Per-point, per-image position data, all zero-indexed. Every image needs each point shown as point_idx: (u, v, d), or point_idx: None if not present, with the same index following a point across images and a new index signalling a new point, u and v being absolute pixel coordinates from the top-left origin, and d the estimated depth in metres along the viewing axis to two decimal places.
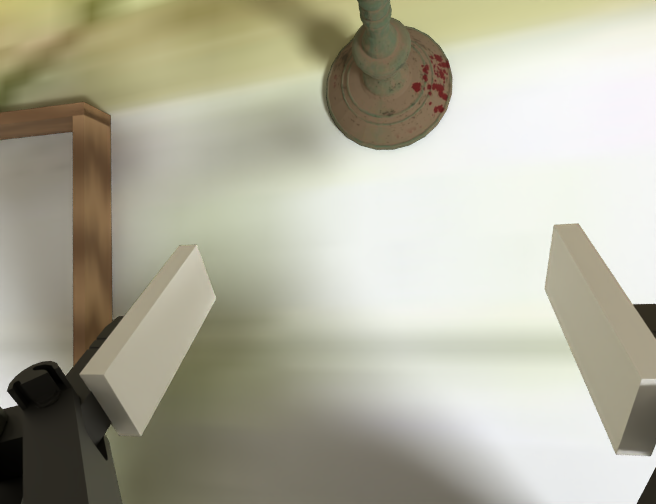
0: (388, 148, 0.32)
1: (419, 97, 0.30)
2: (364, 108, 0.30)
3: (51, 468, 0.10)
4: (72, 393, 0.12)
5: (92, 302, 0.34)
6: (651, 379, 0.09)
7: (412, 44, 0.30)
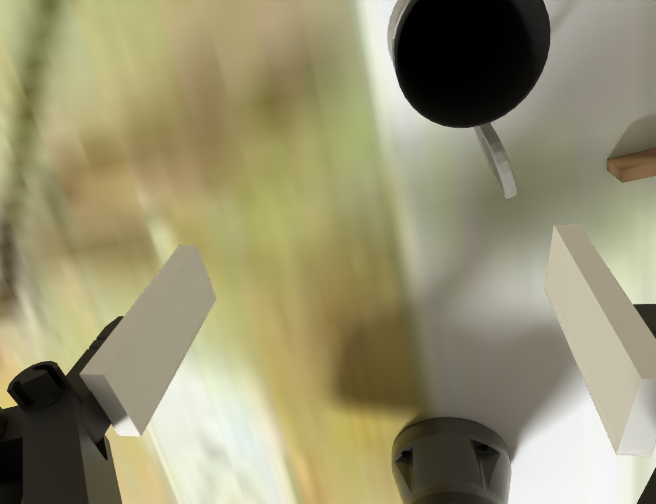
0: None
1: None
2: None
3: (51, 468, 0.10)
4: (72, 393, 0.12)
5: None
6: (651, 379, 0.09)
7: None
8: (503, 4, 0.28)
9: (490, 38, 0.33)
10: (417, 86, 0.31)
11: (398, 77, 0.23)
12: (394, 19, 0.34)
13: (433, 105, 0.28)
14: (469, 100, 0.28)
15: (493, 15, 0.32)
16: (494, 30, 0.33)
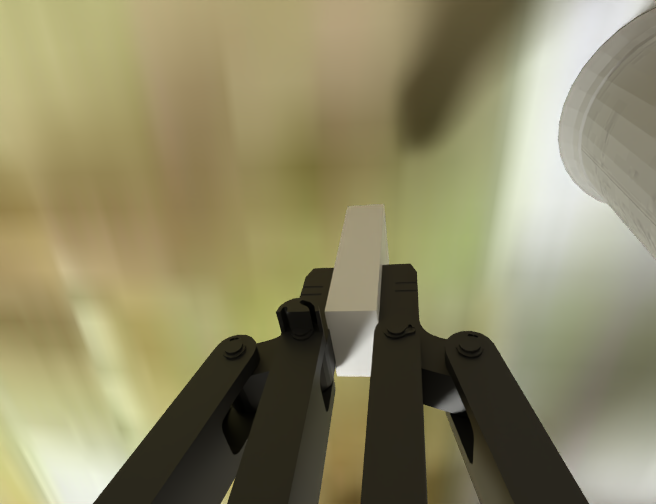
0: None
1: None
2: None
3: (282, 404, 0.10)
4: (321, 339, 0.12)
5: None
6: (355, 311, 0.12)
7: None
8: None
9: None
10: None
11: None
12: (601, 74, 0.17)
13: None
14: None
15: None
16: None
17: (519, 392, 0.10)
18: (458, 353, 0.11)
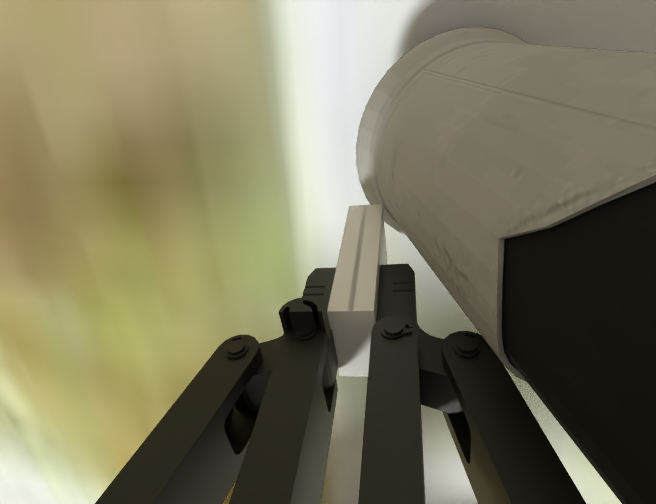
0: None
1: None
2: None
3: (284, 404, 0.10)
4: (324, 339, 0.12)
5: None
6: (353, 311, 0.12)
7: None
8: None
9: None
10: None
11: None
12: (381, 113, 0.16)
13: None
14: None
15: None
16: None
17: (516, 392, 0.10)
18: (455, 353, 0.11)
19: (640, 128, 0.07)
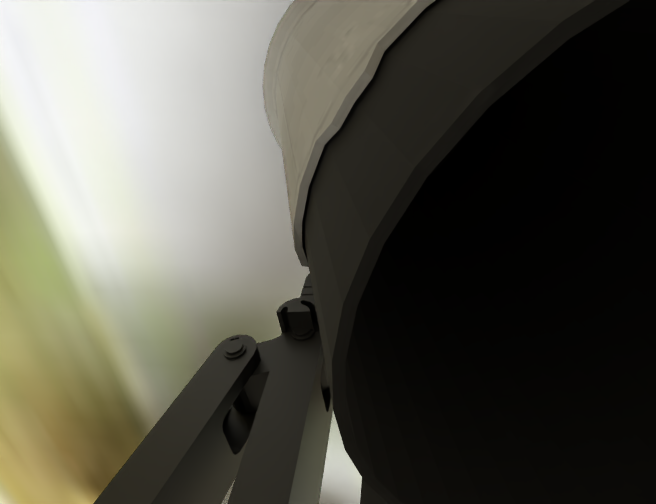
0: None
1: None
2: None
3: (282, 404, 0.10)
4: None
5: None
6: None
7: None
8: None
9: None
10: (406, 245, 0.14)
11: None
12: (278, 128, 0.17)
13: (501, 334, 0.10)
14: (560, 248, 0.11)
15: None
16: None
17: None
18: None
19: (293, 164, 0.07)
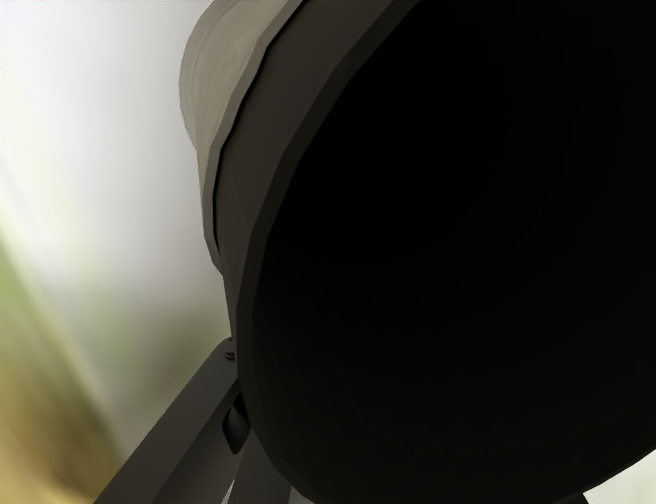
0: None
1: None
2: None
3: None
4: None
5: None
6: None
7: None
8: None
9: (382, 54, 0.16)
10: (343, 248, 0.14)
11: None
12: None
13: (441, 322, 0.10)
14: (486, 231, 0.11)
15: None
16: None
17: None
18: None
19: (199, 175, 0.07)
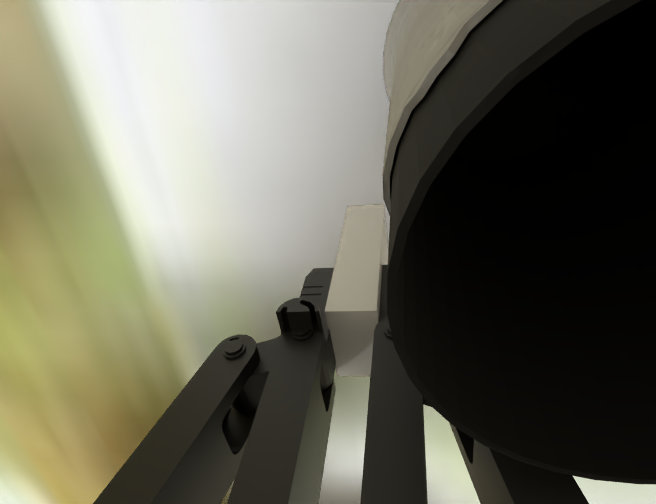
0: None
1: None
2: None
3: (282, 404, 0.10)
4: (321, 339, 0.12)
5: None
6: (355, 311, 0.12)
7: None
8: None
9: None
10: (502, 214, 0.14)
11: (468, 431, 0.07)
12: None
13: (579, 304, 0.10)
14: None
15: None
16: None
17: None
18: None
19: (389, 126, 0.08)
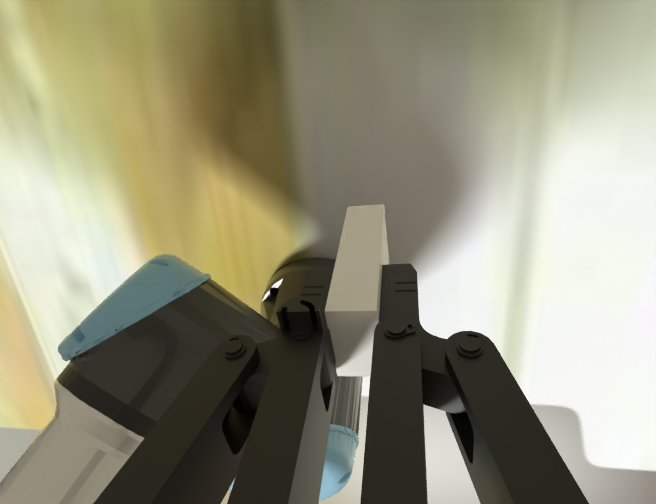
0: None
1: None
2: None
3: (282, 404, 0.10)
4: (321, 339, 0.12)
5: None
6: (355, 311, 0.12)
7: None
8: None
9: None
10: None
11: None
12: None
13: None
14: None
15: None
16: None
17: (520, 392, 0.10)
18: (458, 353, 0.11)
19: None
